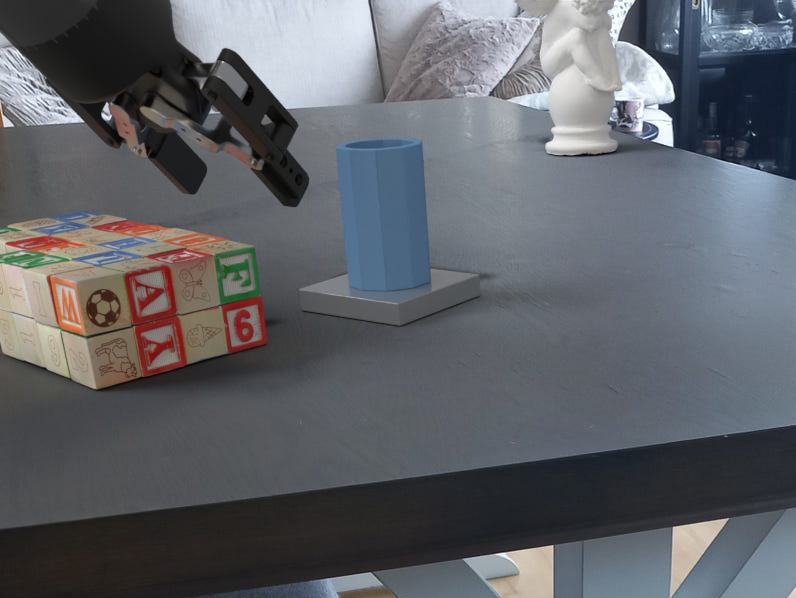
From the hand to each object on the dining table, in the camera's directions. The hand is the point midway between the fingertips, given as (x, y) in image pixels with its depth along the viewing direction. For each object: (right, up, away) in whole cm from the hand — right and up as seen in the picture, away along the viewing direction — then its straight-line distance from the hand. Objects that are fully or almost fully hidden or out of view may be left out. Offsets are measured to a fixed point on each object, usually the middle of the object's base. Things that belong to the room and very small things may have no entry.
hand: (246, 188), depth 73 cm
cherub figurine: (+24, +30, +73) cm, 83 cm away
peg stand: (+8, -4, +12) cm, 15 cm away
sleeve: (+8, -2, +11) cm, 14 cm away
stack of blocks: (-7, -2, +10) cm, 12 cm away
